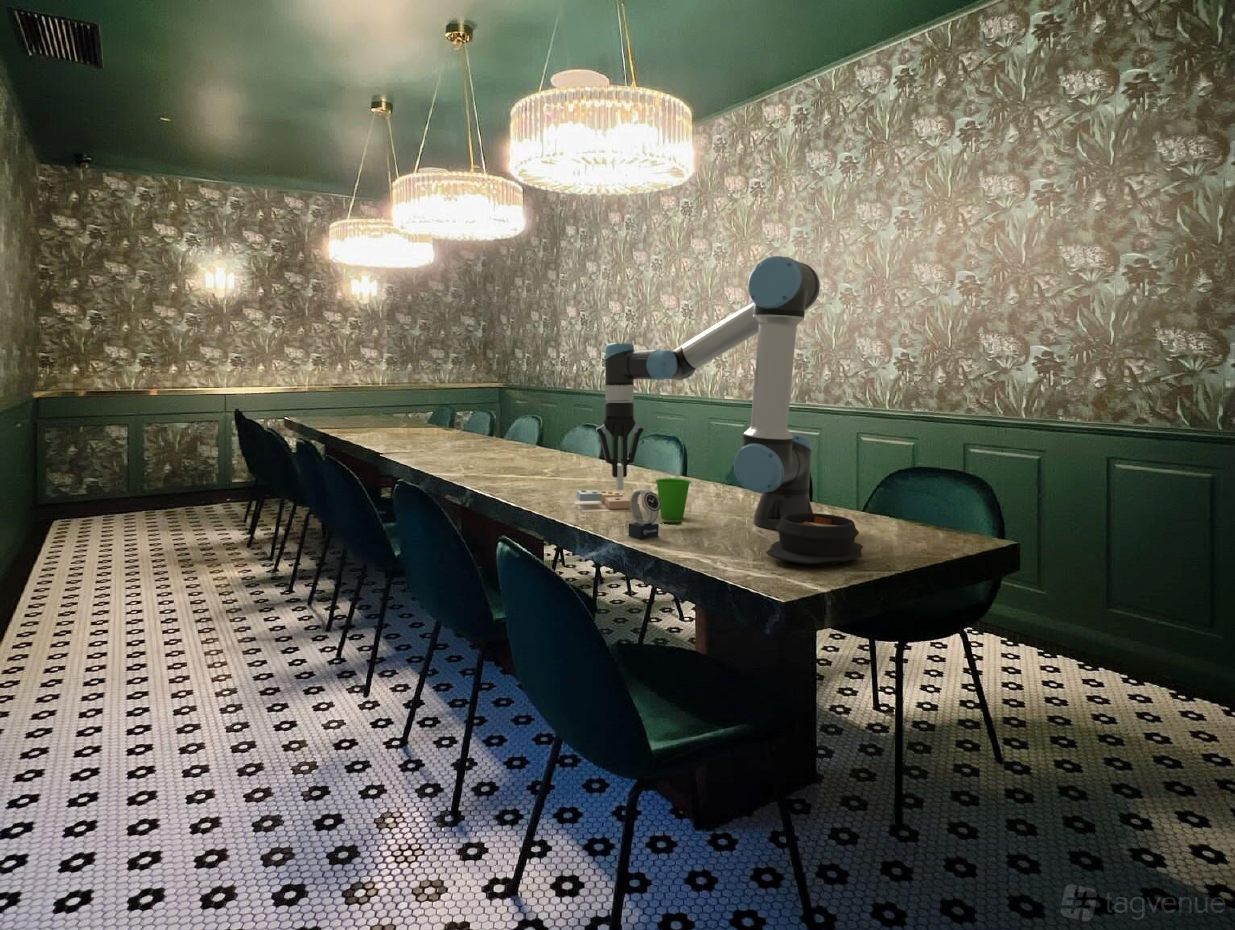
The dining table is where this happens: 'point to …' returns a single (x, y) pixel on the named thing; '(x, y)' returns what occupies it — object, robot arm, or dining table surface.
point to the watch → (641, 527)
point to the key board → (595, 506)
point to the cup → (672, 498)
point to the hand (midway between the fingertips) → (619, 489)
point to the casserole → (815, 539)
